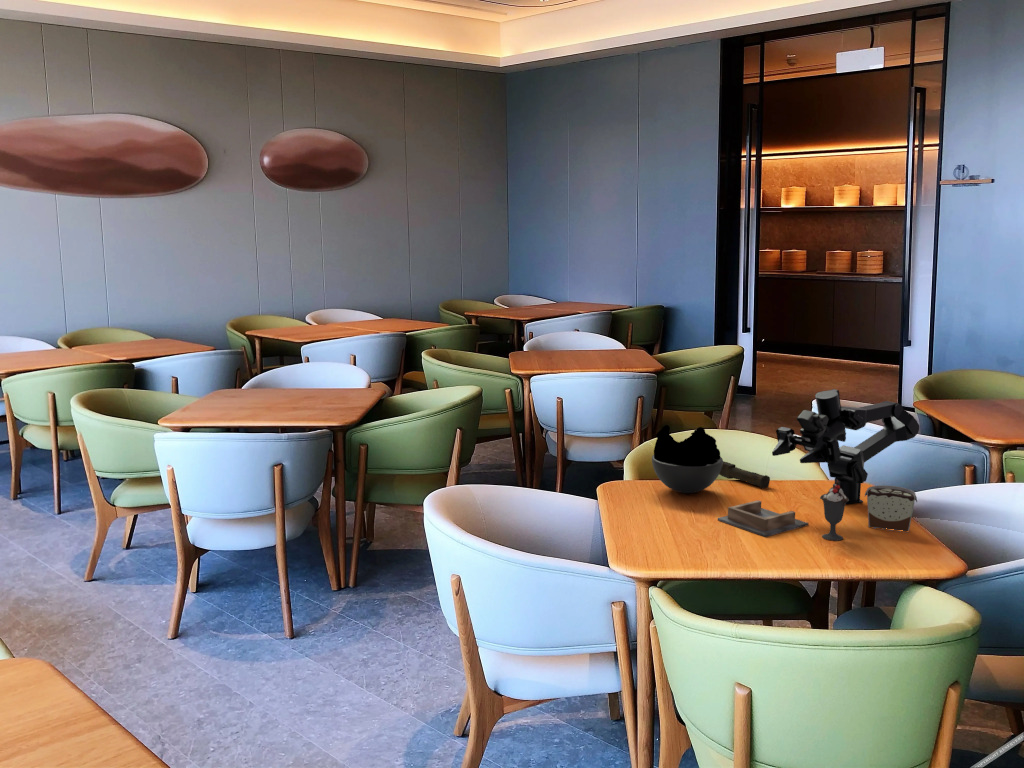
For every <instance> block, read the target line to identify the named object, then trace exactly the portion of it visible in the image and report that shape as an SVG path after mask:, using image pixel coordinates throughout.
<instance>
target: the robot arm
mask: <svg viewBox="0 0 1024 768" xmlns="http://www.w3.org/2000/svg"><path fill="white" fill-rule="evenodd" d="M815 402H816V408H817V409H816V410H817V412H818V413H817V412H815V411H811V410H808V409H804V410H802V411H801V413H800V414H799V415H798V416H797V417H796V422H798V423H799V425H800V427H801V428H800V429H799V433H800V435H798V434H796V433H795V430H794V429H793V428H789V427H785V426H781V427H778V428H777V429H775V433H776V439H777V444H775V447H774V449H773V450H772V452H771V454H772V456H774V457H776V456H781V455H786V454H790V453H791V452H792V451H794V450H796V448H797V446H798V445H799V446H802V447H803V448H804V451H807V453H805V454H804V455H803V456H801V458H800V459H799V462H800V463H801V464H813V463H814V464H815V463H818V464H819V463H820V464H821V463H827V468H828V473H829V477H830V478H834V483H833V484H832V487H835V484H836V483H837V480H838V483H837V484H836V485H839V486H840V488H841V489H842V491H843V494H844V495H845V496H847V498H848V499H849V501H848V502H846V504H845V505H850V504H863V503H864V500H862V499H861V487H862V484H863V483H864V482H866V481H867V480H868V475H869V474H868V472H867V471H866V469H865V468H864V467H865V463H866V462H867V461H869V460H871V459H872V458H873V457H875V456H877V455H878V454H879V453H881V452H882V451H884V450H886V449H887V448H889V447H890V446H892V445H893V444H894V443H896V442H904V441H909V440H910V439H914V438H915V437H916V436H917V435H918V433H919V431H920V425H919V422H918V420H917V419H916V418H915V417H914V415H912V413H909V411H907V410H906V409H904V407H903V406H902V404H900V403H899V402H895V401H894V402H893V401H889V400H884V401H882V402H879V403H874V404H870V405H869V404H868V405H865V406H859V407H856V406H855V407H853V406H847V405H846V406H843V405H842V404H841V399H840V390H839V389H835V388H832V389H830V390H823V391H819V392H817V393H815ZM878 420H881V422H882V424H883V428H882V429H880V430H878V431H877V432H875V433H874V434H872V435H871V436H869V437H868V438H867V439H865V440H863V441H862V442H860V443H859V444H857V445H856V446H854V447H852V446H847V445H845V444H843V445H841V446H840V442H843V443H844V442H846V441H847V440H846V439H847V432H846V431H847V430H851V431H858V430H861V429H863V428H864V427H866V424H869V423H871V422H875V421H878ZM846 429H847V430H846ZM839 441H840V442H839Z"/></svg>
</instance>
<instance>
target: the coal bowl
mask: <svg viewBox="0 0 1024 768" xmlns="http://www.w3.org/2000/svg"><path fill="white" fill-rule="evenodd" d="M655 437H656V441H655V445H654V449H653V454H652V456H651V464H652V467H653V470H654V473H655V475H656V476H657V478H658V479H659V481H661V483H662V484H664V485H665V486H666V487H668V488H669V489H670V490H672V491H675V492H678V493H682V494H692V493H698V492H701V491H704V490H705V489H707V488H708V487H710V486H711V485H712V484H714V482H715V481H716V480H717V478H718V477H719V473H720V471H721V468H722V464H723V461H724V460H723V458H722V457H721V451H720V449H719V448H718V445H717V440H716V438H715V437H714V436H711V435H710V434H708V433H706V430H705V428H704V427H702V426H698V427H697V428H696V429H694V430H693V432H691V433H690V436H688V437H687V438H684V440H682V441H681V440H680V441H676V439H674V437H673V436H672V435H671V434H670V426H669V425H668V424H666V425H664V426H662V428H661V429H660V430H659V431H658V432H656V434H655Z"/></svg>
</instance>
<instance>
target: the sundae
mask: <svg viewBox="0 0 1024 768" xmlns="http://www.w3.org/2000/svg"><path fill="white" fill-rule="evenodd" d="M837 483H838V480H837ZM837 483H836V484H837ZM836 484H835V487H833V486H831V487H830V488H829V489H828V492H826V493H824V494H822V495H820V497H819V498H820V500H821V501H822V503H823V504H822V505H823V511H824V512H823V513H824V518H825V520H826V521H827V522H828V524H830V528H829V532H827V533H824V534H821V537H822V539H824V540H826V541H831V540H833V541H834V542H839V541H842V540H844V537H843V536H842V535H841V534H838V533H837V530H836V529H837V527H836V526H837V525H838V524H839V523H841V521H842V520H843V517H844V512H845V507H846V505H847V504H846V502H848V501H849V499H848V498H847V496H845V495H844V494H843V491H842V489H841V488H840V486H839V485H836Z"/></svg>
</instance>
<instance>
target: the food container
mask: <svg viewBox="0 0 1024 768" xmlns="http://www.w3.org/2000/svg"><path fill="white" fill-rule="evenodd" d="M864 497H866V500H867V501H866V502H867V503H866V504H867V518H868V519H867V520H868V528H869V527H873V528H872V529H876V528H883V529H882V530H884V529H886V528H887V529H894V530H903V531H909V532H910V527H911V522H912V517H913V512H914V506H915V502H916V503H918V497H917V494H916V492H915V491H914V490H911V489H909V488H905V487H902V486H896V485H885V484H884V485H882V484H881V485H872V486H870V487H868V488H867V489H866V491H865V493H864Z"/></svg>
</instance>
